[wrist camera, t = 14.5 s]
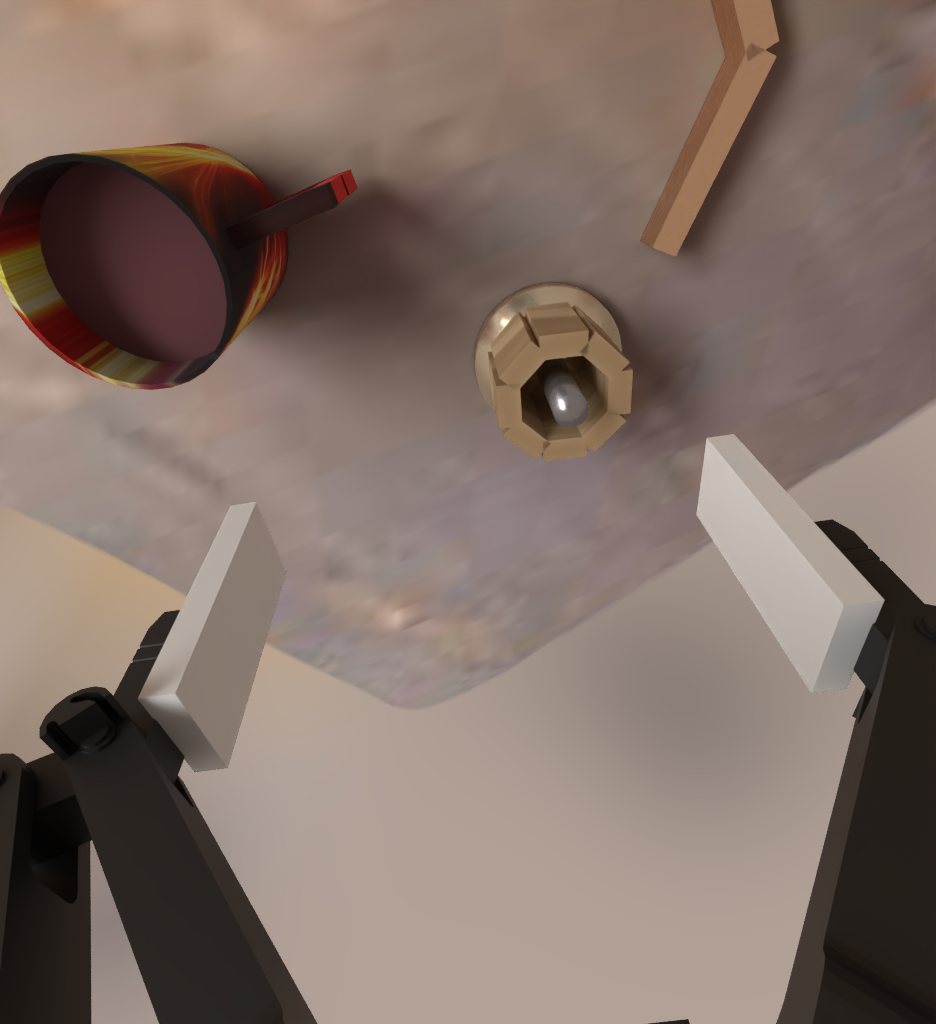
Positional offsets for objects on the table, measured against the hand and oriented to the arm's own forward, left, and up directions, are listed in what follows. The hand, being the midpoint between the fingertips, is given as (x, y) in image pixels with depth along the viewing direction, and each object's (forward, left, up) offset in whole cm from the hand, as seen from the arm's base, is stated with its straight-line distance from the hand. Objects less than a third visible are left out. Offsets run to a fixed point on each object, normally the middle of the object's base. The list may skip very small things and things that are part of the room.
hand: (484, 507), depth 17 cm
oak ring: (+5, +6, -23) cm, 25 cm away
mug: (-7, -13, -25) cm, 29 cm away
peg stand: (+5, +6, -25) cm, 26 cm away
